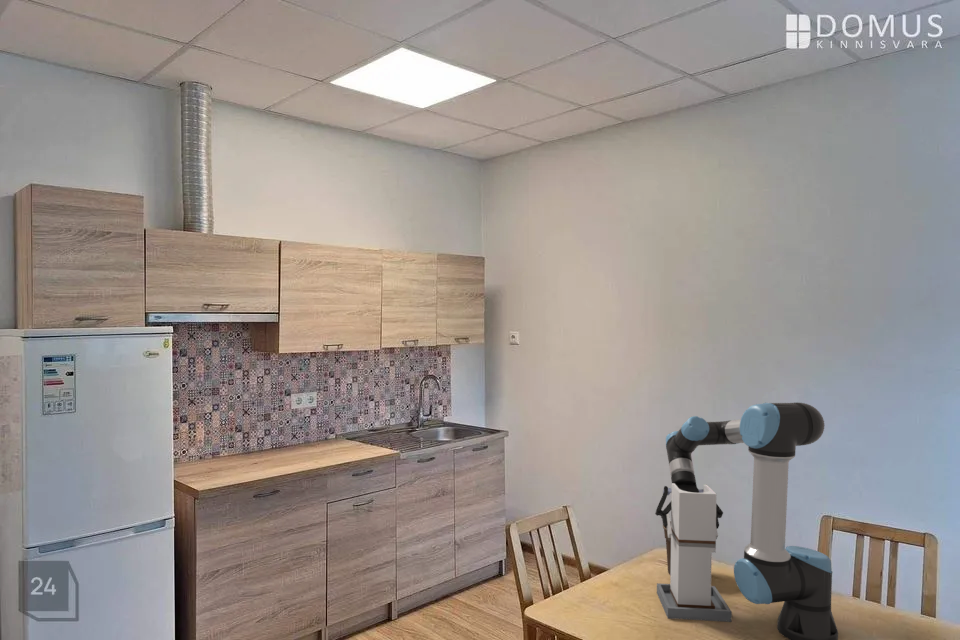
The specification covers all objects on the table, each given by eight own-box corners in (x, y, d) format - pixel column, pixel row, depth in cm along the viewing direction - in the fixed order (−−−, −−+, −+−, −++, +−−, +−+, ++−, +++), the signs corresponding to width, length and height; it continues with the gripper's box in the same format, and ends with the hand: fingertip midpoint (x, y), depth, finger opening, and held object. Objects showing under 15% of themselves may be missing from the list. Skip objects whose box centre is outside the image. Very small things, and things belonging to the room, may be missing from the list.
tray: (714, 595, 206) (714, 586, 206) (731, 621, 188) (731, 611, 188) (656, 592, 207) (656, 583, 207) (667, 618, 189) (667, 608, 189)
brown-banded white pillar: (714, 613, 192) (716, 494, 192) (677, 611, 193) (679, 492, 193) (705, 596, 203) (706, 484, 203) (670, 594, 204) (671, 483, 204)
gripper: (719, 483, 214) (732, 544, 199) (642, 480, 216) (649, 540, 201) (724, 470, 209) (737, 532, 194) (645, 468, 211) (652, 529, 196)
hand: (692, 536), depth 198 cm, fingers open, 13 cm apart
